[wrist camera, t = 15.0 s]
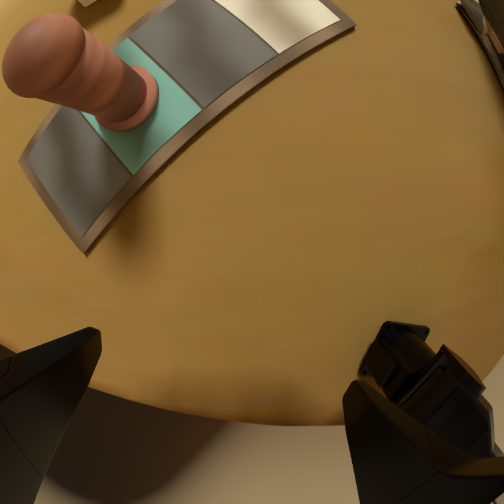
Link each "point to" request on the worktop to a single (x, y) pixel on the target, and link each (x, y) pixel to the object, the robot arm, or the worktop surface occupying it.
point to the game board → (168, 98)
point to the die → (86, 2)
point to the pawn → (78, 73)
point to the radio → (488, 28)
